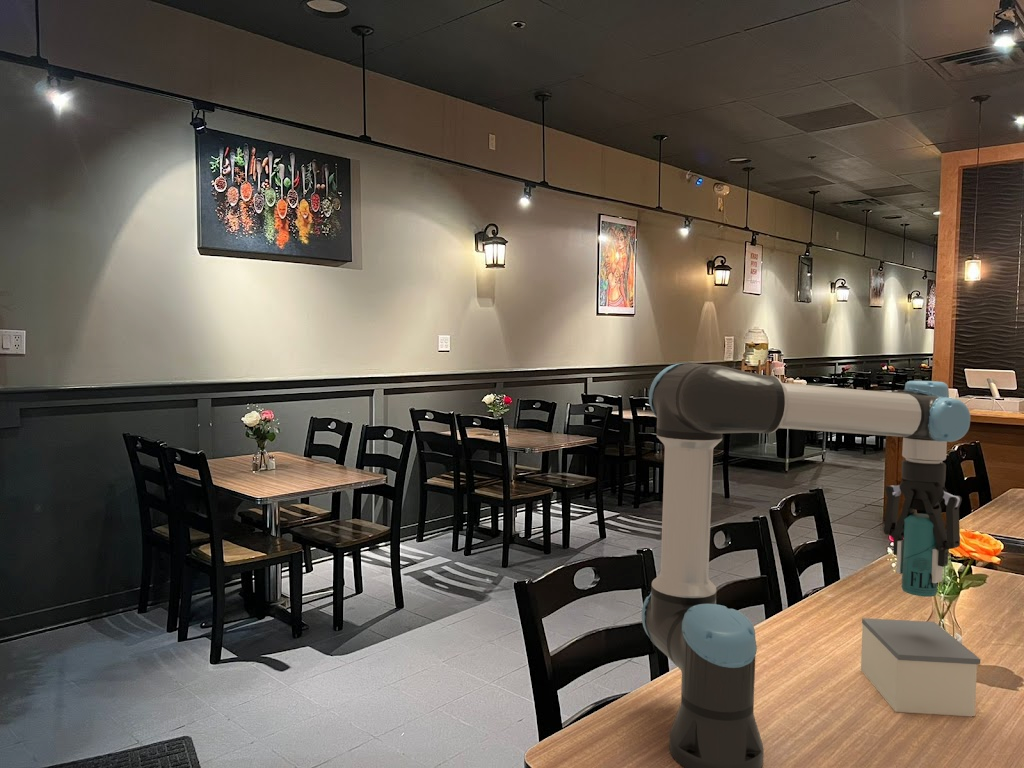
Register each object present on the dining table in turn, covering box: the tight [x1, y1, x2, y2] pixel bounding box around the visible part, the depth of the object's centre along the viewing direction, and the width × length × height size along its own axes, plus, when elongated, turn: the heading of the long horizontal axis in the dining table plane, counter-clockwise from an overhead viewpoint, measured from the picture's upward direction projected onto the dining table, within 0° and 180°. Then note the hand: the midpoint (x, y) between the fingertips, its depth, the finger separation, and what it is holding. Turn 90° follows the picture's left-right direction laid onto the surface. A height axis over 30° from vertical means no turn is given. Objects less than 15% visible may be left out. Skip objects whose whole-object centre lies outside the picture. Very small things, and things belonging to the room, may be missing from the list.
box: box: [860, 623, 978, 717], centre depth 147 cm, size 14×18×10 cm
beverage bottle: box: [900, 499, 939, 598], centre depth 146 cm, size 6×7×20 cm
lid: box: [861, 617, 982, 665], centre depth 147 cm, size 14×19×1 cm
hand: (919, 576), depth 146 cm, fingers closed on beverage bottle, 6 cm apart
